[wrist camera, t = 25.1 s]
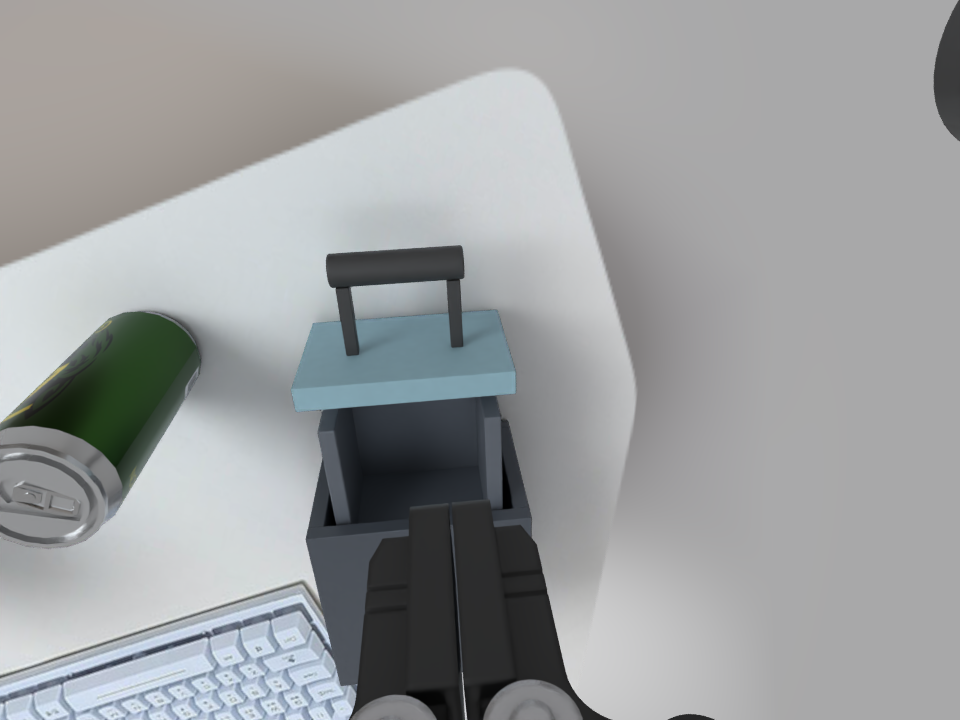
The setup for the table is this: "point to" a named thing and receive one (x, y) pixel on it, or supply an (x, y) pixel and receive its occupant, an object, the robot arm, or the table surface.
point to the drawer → (406, 392)
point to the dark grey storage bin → (351, 547)
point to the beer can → (92, 429)
